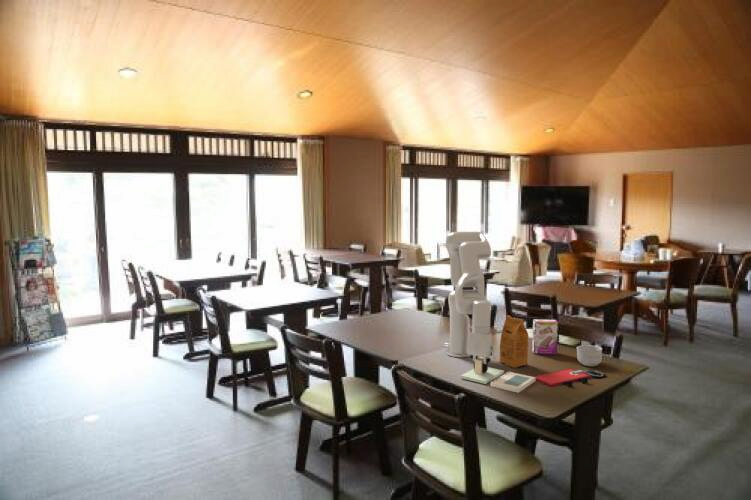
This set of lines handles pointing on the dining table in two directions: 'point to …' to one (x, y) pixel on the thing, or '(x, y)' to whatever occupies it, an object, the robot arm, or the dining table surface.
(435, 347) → the dining table surface
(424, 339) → the dining table surface
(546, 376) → the red board with handle
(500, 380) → the ticket board
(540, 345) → the candy bar box
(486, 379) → the green board with block
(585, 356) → the teacup
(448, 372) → the dining table surface
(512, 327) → the coffee package
